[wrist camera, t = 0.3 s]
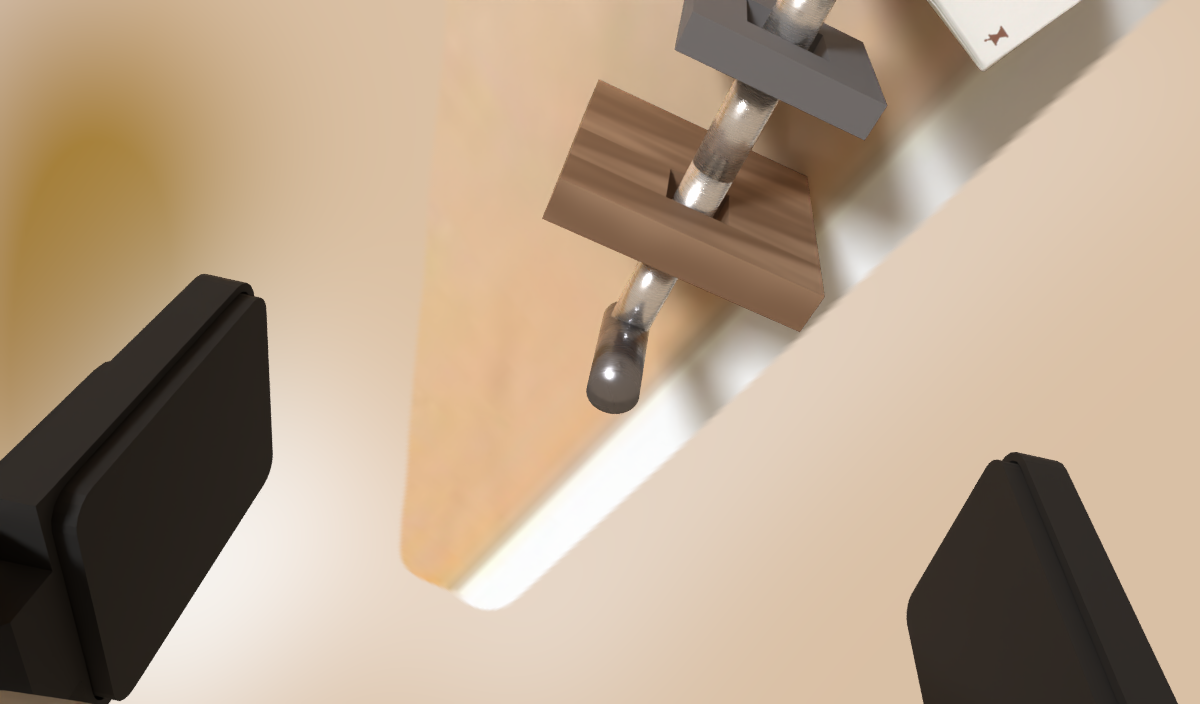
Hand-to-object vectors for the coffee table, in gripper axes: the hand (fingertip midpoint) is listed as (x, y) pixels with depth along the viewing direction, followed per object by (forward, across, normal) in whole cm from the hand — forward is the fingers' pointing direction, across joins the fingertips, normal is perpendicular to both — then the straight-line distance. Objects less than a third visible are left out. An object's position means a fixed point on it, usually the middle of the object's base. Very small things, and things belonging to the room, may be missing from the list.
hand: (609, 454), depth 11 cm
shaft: (+29, -3, +8) cm, 30 cm away
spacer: (+32, -4, +1) cm, 33 cm away
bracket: (+36, -2, +12) cm, 38 cm away
